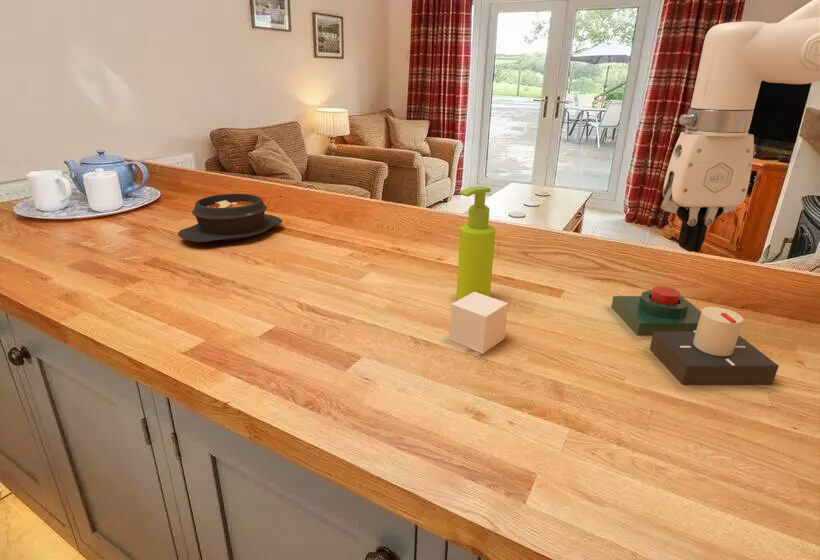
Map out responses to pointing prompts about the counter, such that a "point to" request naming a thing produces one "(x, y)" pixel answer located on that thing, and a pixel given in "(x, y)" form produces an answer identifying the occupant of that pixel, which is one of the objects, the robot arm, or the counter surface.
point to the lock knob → (717, 331)
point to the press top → (665, 295)
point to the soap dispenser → (476, 247)
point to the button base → (655, 314)
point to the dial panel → (712, 362)
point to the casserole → (229, 218)
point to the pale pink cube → (478, 321)
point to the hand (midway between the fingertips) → (689, 248)
